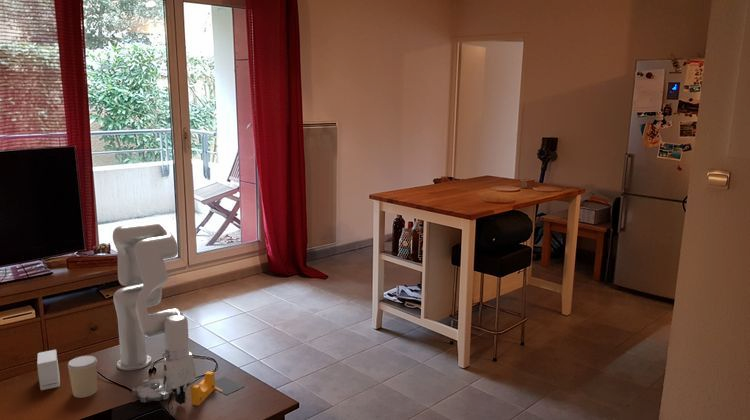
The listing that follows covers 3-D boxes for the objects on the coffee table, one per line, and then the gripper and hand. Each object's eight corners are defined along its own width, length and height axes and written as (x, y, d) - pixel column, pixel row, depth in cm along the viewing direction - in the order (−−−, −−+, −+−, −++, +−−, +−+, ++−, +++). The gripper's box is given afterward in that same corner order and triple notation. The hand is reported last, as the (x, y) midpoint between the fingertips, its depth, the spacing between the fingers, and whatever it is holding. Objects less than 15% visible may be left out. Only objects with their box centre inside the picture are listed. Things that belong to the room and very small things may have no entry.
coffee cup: (105, 388, 210) (102, 357, 208) (85, 400, 202) (82, 368, 199) (85, 384, 213) (82, 353, 211) (64, 396, 205) (61, 364, 202)
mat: (206, 384, 214) (206, 384, 214) (224, 376, 220) (224, 376, 220) (226, 395, 207) (226, 394, 206) (244, 386, 213) (244, 386, 213)
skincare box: (39, 378, 217) (37, 352, 215) (59, 374, 220) (57, 348, 218) (39, 390, 208) (36, 363, 206) (59, 386, 211) (57, 359, 209)
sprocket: (151, 379, 215) (149, 361, 213) (185, 384, 211) (184, 366, 210) (124, 399, 200) (122, 380, 199) (160, 405, 197) (159, 386, 196)
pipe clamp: (204, 387, 212) (202, 370, 211) (215, 388, 211) (214, 371, 210) (187, 404, 200) (185, 386, 199) (198, 405, 199) (197, 388, 198)
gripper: (163, 363, 187) (166, 415, 191) (203, 348, 199) (205, 397, 202) (150, 356, 192) (154, 407, 196) (190, 342, 204) (193, 390, 207)
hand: (180, 402), depth 199 cm, fingers closed
